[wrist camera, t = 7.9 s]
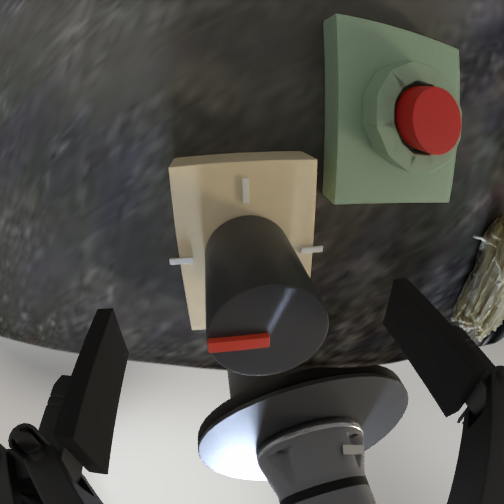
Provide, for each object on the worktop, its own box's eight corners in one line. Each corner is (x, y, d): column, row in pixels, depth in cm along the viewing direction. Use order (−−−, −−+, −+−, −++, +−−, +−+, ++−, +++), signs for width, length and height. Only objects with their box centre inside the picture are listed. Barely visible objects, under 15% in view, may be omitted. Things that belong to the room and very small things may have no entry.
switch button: (441, 152, 16) (458, 158, 14) (392, 146, 15) (410, 152, 14) (444, 92, 14) (463, 94, 12) (395, 80, 14) (413, 80, 12)
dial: (290, 211, 17) (340, 282, 11) (287, 286, 19) (323, 372, 13) (201, 218, 16) (198, 296, 10) (209, 293, 19) (213, 386, 12)
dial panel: (303, 293, 24) (315, 318, 21) (185, 304, 23) (183, 332, 20) (310, 150, 19) (328, 159, 16) (164, 158, 18) (156, 169, 15)
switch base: (432, 193, 21) (464, 211, 18) (321, 194, 20) (345, 215, 17) (440, 50, 16) (475, 48, 12) (322, 21, 14) (349, 5, 11)
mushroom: (479, 203, 22) (519, 225, 18) (521, 212, 24) (553, 231, 19) (434, 325, 29) (460, 356, 24) (481, 315, 30) (505, 340, 25)
